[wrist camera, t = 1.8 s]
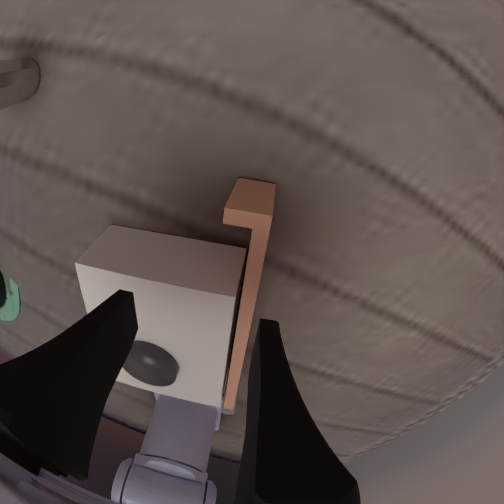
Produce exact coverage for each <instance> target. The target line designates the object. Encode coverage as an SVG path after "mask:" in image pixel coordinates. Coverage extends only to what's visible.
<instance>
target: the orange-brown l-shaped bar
mask: <svg viewBox="0 0 504 504" xmlns="http://www.w3.org/2000/svg"><path fill="white" fill-rule="evenodd" d="M275 189H276V184H273V183H267V182H261V181H255V180H250V179H243V178H238V180H237V182H236V184H235V186H234V188H233V190H232V192H231V195H230V197H229V199H228V201H227V203H226V205H225V208H224V216H223V224H228V225H234V226H240V227H246V228H251V229H252V235H251V241H250V247H249V253H248V259H247V266H246V272H245V278H244V284H243V290H242V296H241V302H240V309H239V315H238V321H237V327H236V333H235V340H234V346H233V352H232V358H231V365H230V370H229V372H228V377H227V382H226V387H225V392H224V397H223V402H222V407H221V412H222V413H223V414H226V415H233V414H234V413H235V408H236V402H237V396H238V390H239V383H240V377H241V370H242V365H243V361H244V356H245V351H246V346H247V341H248V337H249V332H250V327H251V322H252V317H253V312H254V308H255V303H256V298H257V293H258V288H259V283H260V278H261V273H262V268H263V263H264V258H265V253H266V248H267V243H268V238H269V233H270V228H271V222H272V217H273V209H274V199H275Z"/></svg>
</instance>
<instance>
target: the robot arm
mask: <svg viewBox="0 0 504 504" xmlns="http://www.w3.org/2000/svg"><path fill="white" fill-rule="evenodd" d="M137 331H138V322H137V316H136V309H135V302H134V294H133V292H130V291H125V290H121V289H119V290H118V291H116V292H115V293H114V294H112V295H111V296H110V297H109V298H107V299H106V300H105V301H104V302H102V303H101V304H100V305H98V306H97V307H96V308H95V309H93V310H92V311H91V312H90V313H88V314H87V315H86V316H84V317H83V318H82V319H80V320H79V321H78V322H76V323H75V324H74V325H72V326H71V327H69V328H68V329H67V330H65V331H64V332H62V333H61V334H59V335H58V336H56V337H55V338H53V339H52V340H50V341H48V342H47V343H45V344H43V345H41V346H40V347H38V348H36V349H34V350H32V351H30V352H28V353H26V354H24V355H22V356H20V357H17V358H15V359H13V360H10V361H8V362H5V363H3V364H0V504H67V503H66V502H64V501H62V500H60V499H58V498H55V497H54V496H52V495H50V494H48V493H47V492H44V491H43V490H41V488H40V486H39V483H41V484H43V485H45V486H47V487H48V488H50V489H52V490H54V491H56V492H58V493H59V494H61V495H63V496H65V497H67V498H69V499H71V500H73V501H75V502H78V503H80V504H215V500H216V487H215V485H214V484H213V482H212V481H209V480H207V481H206V479H207V475H208V474H207V473H206V468H207V463H208V458H209V453H210V448H211V443H212V438H213V433H214V430H219V425H220V418H221V407H222V402H223V396H222V400H221V405H220V407H216V406H211V405H206V404H201V403H196V402H192V401H187V400H183V399H179V398H175V397H171V396H167V395H163V394H159V393H155V392H154V395H155V399H156V405H155V408H154V411H153V414H152V417H151V420H150V423H149V426H148V429H147V432H146V435H145V438H144V441H143V444H142V448H141V451H140V454H138V453H137V454H136V456H135V459H131V458H129V459H127V460H125V461H123V462H122V463H121V464H120V466H119V468H118V471H117V473H116V476H115V479H114V483H113V487H112V493H111V500H109V499H106V498H103V497H101V496H99V495H96V494H94V493H92V492H89V491H87V490H85V489H83V488H80V487H78V486H76V485H74V484H72V483H70V482H68V481H66V480H64V479H62V478H60V477H58V476H59V474H60V475H62V476H64V477H68V476H70V477H71V478H74V479H76V480H78V481H84V480H86V479H87V478H88V471H89V465H90V459H91V454H92V449H93V445H94V440H95V436H96V433H97V429H98V426H99V422H100V418H101V416H102V412H103V409H104V406H105V403H106V400H107V398H108V396H109V393H110V391H111V389H112V387H113V385H114V383H115V381H116V379H117V377H118V375H119V373H120V371H121V369H122V367H123V365H124V363H125V361H126V359H127V357H128V355H129V353H130V351H131V348H132V345H133V343H134V340H135V337H136V334H137ZM37 481H38V482H39V483H38V482H37ZM234 504H360V493H359V488H358V484H357V481H356V479H355V478H354V477H353V476H352V475H351V474H350V473H349V471H348V470H347V469H346V468H345V467H344V465H343V464H342V463H341V462H340V460H339V459H338V458H337V456H336V455H335V454H334V452H333V451H332V449H331V448H330V447H329V445H328V444H327V442H326V440H325V439H324V437H323V436H322V434H321V433H320V431H319V430H318V428H317V426H316V425H315V423H314V421H313V419H312V417H311V416H310V414H309V412H308V410H307V408H306V406H305V404H304V402H303V400H302V397H301V395H300V393H299V391H298V388H297V386H296V383H295V381H294V378H293V375H292V373H291V370H290V367H289V364H288V361H287V358H286V354H285V351H284V347H283V343H282V339H281V334H280V328H279V323H278V322H277V321H274V320H268V319H262V318H260V322H259V326H258V330H257V335H256V339H255V343H254V347H253V352H252V358H251V364H250V370H249V378H248V398H247V418H246V432H245V440H244V446H243V452H242V458H241V464H240V470H239V476H238V482H237V488H236V494H235V499H234Z"/></svg>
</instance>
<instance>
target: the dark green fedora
mask: <svg viewBox="0 0 504 504" xmlns="http://www.w3.org/2000/svg"><path fill="white" fill-rule="evenodd" d="M15 281H16V279H15ZM10 286H11V290H12V292H13V294H12V295H11V297H10V295H9V292H8V289H7V285H6V280H5V277H4V275H3V272H2V269H1V267H0V310H1V311H0V319H1V320H3V321H12V320H14V319H15V318H16V317H17V316H18V314H19V308H20V306H19V293H18V286H17V285H16V284H15V283H14V281H13V280H12V279H11V278H10ZM10 301H11V302H10Z"/></svg>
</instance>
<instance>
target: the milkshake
mask: <svg viewBox="0 0 504 504" xmlns="http://www.w3.org/2000/svg"><path fill="white" fill-rule="evenodd" d="M39 81H40V74H39V67H38V65H37V64H36V62H35V61H34V60H0V110H2V109H4V108H7V107H9V106H12V105H14V104H17V103H20V102H22V101H25V100H27V99H28V98H30V97H31V96H32V95H33V94H34V93H35V92H36V89H37V86H38V84H39Z"/></svg>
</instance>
